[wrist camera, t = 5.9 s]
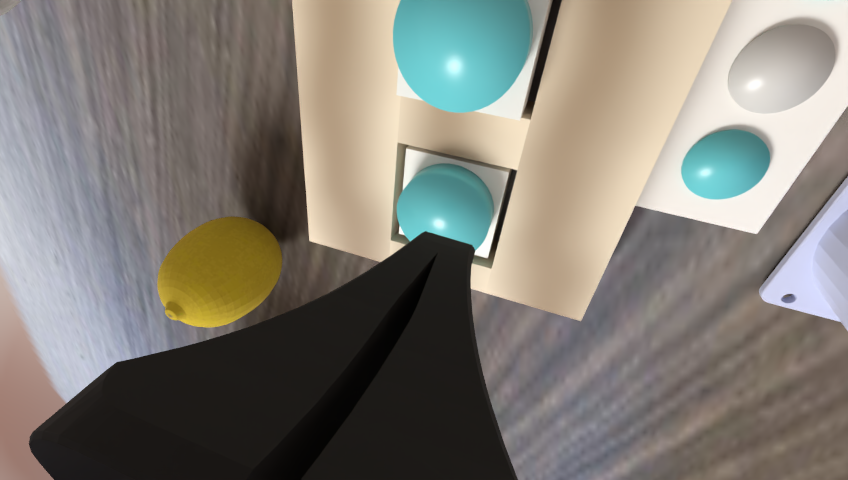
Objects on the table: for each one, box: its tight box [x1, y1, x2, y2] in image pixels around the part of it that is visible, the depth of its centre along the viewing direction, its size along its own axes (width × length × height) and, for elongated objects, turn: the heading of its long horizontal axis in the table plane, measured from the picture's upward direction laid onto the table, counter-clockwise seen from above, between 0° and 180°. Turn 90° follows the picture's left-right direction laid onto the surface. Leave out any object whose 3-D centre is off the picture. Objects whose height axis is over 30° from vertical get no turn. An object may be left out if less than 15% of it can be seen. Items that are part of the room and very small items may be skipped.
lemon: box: [158, 217, 282, 327], centre depth 23 cm, size 6×6×8 cm
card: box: [635, 0, 848, 234], centre depth 14 cm, size 5×12×1 cm, turn 175°
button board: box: [292, 0, 732, 321], centre depth 15 cm, size 14×22×3 cm, turn 175°
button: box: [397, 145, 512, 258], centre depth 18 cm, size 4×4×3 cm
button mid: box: [393, 0, 553, 121], centre depth 13 cm, size 4×4×3 cm
